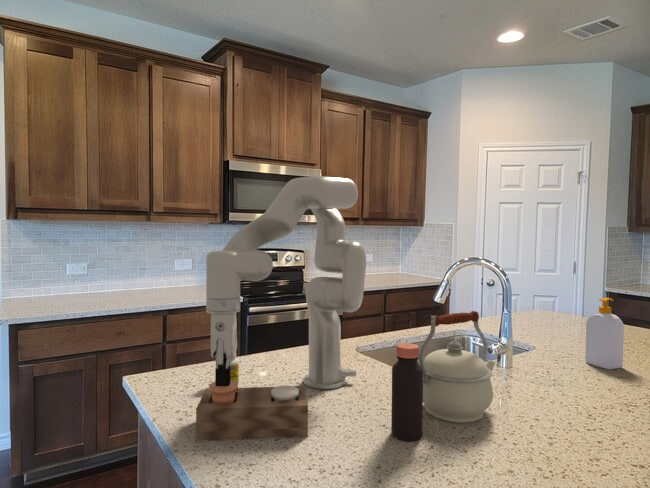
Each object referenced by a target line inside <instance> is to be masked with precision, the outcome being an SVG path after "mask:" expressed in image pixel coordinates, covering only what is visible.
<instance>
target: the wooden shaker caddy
mask: <svg viewBox="0 0 650 488" xmlns="http://www.w3.org/2000/svg"><path fill="white" fill-rule="evenodd" d="M293 386H294V387H297V388H298V389H299V395H298V397H296V401H274V398H273V397H272V396H271V390H272V389H273V388H275V387H276V386H262V387H261V386H255V387H238V389H237V390H236V391H235V403H212V393H211V392H210V391H209V388H205V390H204V392H203V394H202V397H201V398H200V400H199V402H198V404H197V407H196V409H195V415H196V416H195V421H196V423H195V426H196V427H195V434H196V435H195V436H196V437H195V438H196V439H195V440H196V442H209V441H210V442H211V441H212V442H213V441H231V440H234V441H235V440H239V441H240V440H258V439H259V440H260V439H262V440H264V439H280V438H283V439H285V438H286V439H287V438H303V437H304V438H308V437H309V413H308V412H309V404H308V403H309V402H308V397H307V396H308V395H307V391H306V385H293Z"/></svg>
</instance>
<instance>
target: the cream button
mask: <svg viewBox="0 0 650 488" xmlns="http://www.w3.org/2000/svg"><path fill="white" fill-rule="evenodd" d="M294 386H295V385H279V386H274V387H275V388H273V389H272V390H271V396H272V397H273V398H274V401H296V397H298V395H299V389H298V388H297V387H294Z"/></svg>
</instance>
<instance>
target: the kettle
mask: <svg viewBox="0 0 650 488" xmlns="http://www.w3.org/2000/svg"><path fill="white" fill-rule="evenodd" d="M479 319H480V314H479V311H476V310H472V311H470V312H459V313H458V312H454V313H446V314H442V315H440V316H438V315H436V314H435V315H430V331H429V333H428V335H427V337H426V338H425V340H424V342H423V344H422V345H421V348H419V358H418V364H419V365H420V366H421V367H422V369H423V405H424V408H425V410H426V412H427V413H428V414H429V415H431V416H432V417H434V418H436V419H438V420H442V421H444V422H450V423H456V424H457V423H458V424H466V423H467V424H468V423H473V422H477V421H480V420H481V419H482V418H483V417H484V414H485V411H486V410H487V409H488V408H490V406H491V404H492V403H493V400H494V389H493V384H492V382H491V378H492V375H493V371H494V367H495V365H496V361H494V360H490V359H489V360H487V356H488V349H489V348H488V347H489V345H488V341H487V337H485V335H484V333H483V332H482V330H481V329H480V327H479ZM471 321H472V322H473V327H474V329H475V331H476V332H477V334H478V335H479V337H480V338H481V340H482V353H481V357H480V356H479V355H477V354H475V353H473V352H470V351H467V350H464V349H463V348H464V347H463V345H462V344H461V343H460V342H459V341H457V340H453V341H450V342H449V343H448V344H447V345H446V348H442V349H437V350H433V351H432V352H430V353H428V354H427V355H426V356H425V357H424V355H425V352H426V349H427V348H428V346H429V344H430V343H431V341H432V339H433V337H434V335H435V332H436V327H438V326H440V325H447V326H448V325H449V326H450V325H456V324H465V323H468V322H471ZM486 360H487V361H486Z"/></svg>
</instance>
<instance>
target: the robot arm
mask: <svg viewBox="0 0 650 488" xmlns="http://www.w3.org/2000/svg"><path fill="white" fill-rule="evenodd" d="M358 189H359V188H358V187H357V184H356V182H354V181H353V180H352V179H350V178H347V177H345V178H344V177H334V176H325V175H324V176H323V175H315V176H304V177H302V176H301V177H296V178H293V179H290V180H289V181H287V183H286V184H285V185H284V186H283V188H282V189H281V190H280V192H279V193H278V194H277V195H276V197H275V199H273V201H272V202H271V204H270V205H269V206H268V208H267V210H266V211H265V212H264V213H263V214H261V215H259V216H258V217H256V218H255V219H253V220H252V221H251V222H249V223H247V224H246V225H245V226H242V228H241V229H239V230H238V231H237V232H236V233H235V234H234V235H233V236H232V237H231V238H230V239H229V241H228V242H227V243H226V245H225V246H224V247H223V249H222V250H212V251H210V252H208V253H207V255H206V265H205V266H206V267H205V268H206V270H205V271H206V275H205V276H206V277H205V278H206V281H205V282H206V284H205V285H206V289H205V290H206V291H205V292H206V294H205V296H206V300H205V303H206V307H205V309H206V313H207V314H210V357H211V358H212V359H215V369H214V370H215V373H214V375H215V376H214V377H215V378H214V379H215V380H214V382H215V385H216V386H229V385H230V382H231V366H230V358H233V357H234V355H235V353H236V354H237V349H238V332H237V331H238V326H237V323H238V322H237V313H239V312H241V281H250V282H260V281H262V280H263V281H264V280H265V279H266V278H268V277H269V276H270V274H271V273H272V270H273V268H274V263H273V259H272V257H271V256H270V255H269V253H267V252H266V251H264V250H261V249H259V248H260V247H263V246H264V245H266V244H268V243H272V242H275V241H278V240H280V239H282V238H285V237H287V236H288V235H290V234H291V233H292V232H293V231H294V229H295V227H297V224H298V223H299V221H300V220H301V219H302V217H303V215H304V214H305V212H306V211H307V210H310V211H312V214H313V215H314V218H315V222H316V238H315V239H316V240H315V249H314V257H313V258H314V262H313V263H314V265H315V268H316V269H317V270H318V271H321V272H324V273H332V274H333V273H334V274H342V276H341V277H335V276H316V277H313V278H311V279H310V280H309V282H307V284H306V287H305V300H306V304H307V312H308V374H306V375H305V376H304V377H303V384H304V386H306V387H309V388H312V389H317V390H332V389H337V388H340V387H342V386H344V385H345V384H346V378H347V377H349V378H350V377H351V378H352V377H356V378H357V370H356V369H351V367H349V368H343V367H342V364H341V353H342V351H341V346H342V345H341V342H342V340H341V338H342V337H341V336H342V335H341V334H342V333H341V332H342V324H341V319H340V316H339V314H338V312H343V313H354V312H356V311H357V310H359V308H360V307H361V305H362V302H363V299H364V290H365V282H366V281H365V279H366V271H367V256H366V251H365V248H364V246H363V245H362V244H361V243H359V242H357V241H353V240H352V241H351V240H345V235H346V224H345V220H344V218H343V216H342V213H340V211H339V210H347V209H351V208H353V207H354V206H355V205H356V203H357V201H358V198H359V190H358Z"/></svg>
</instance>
